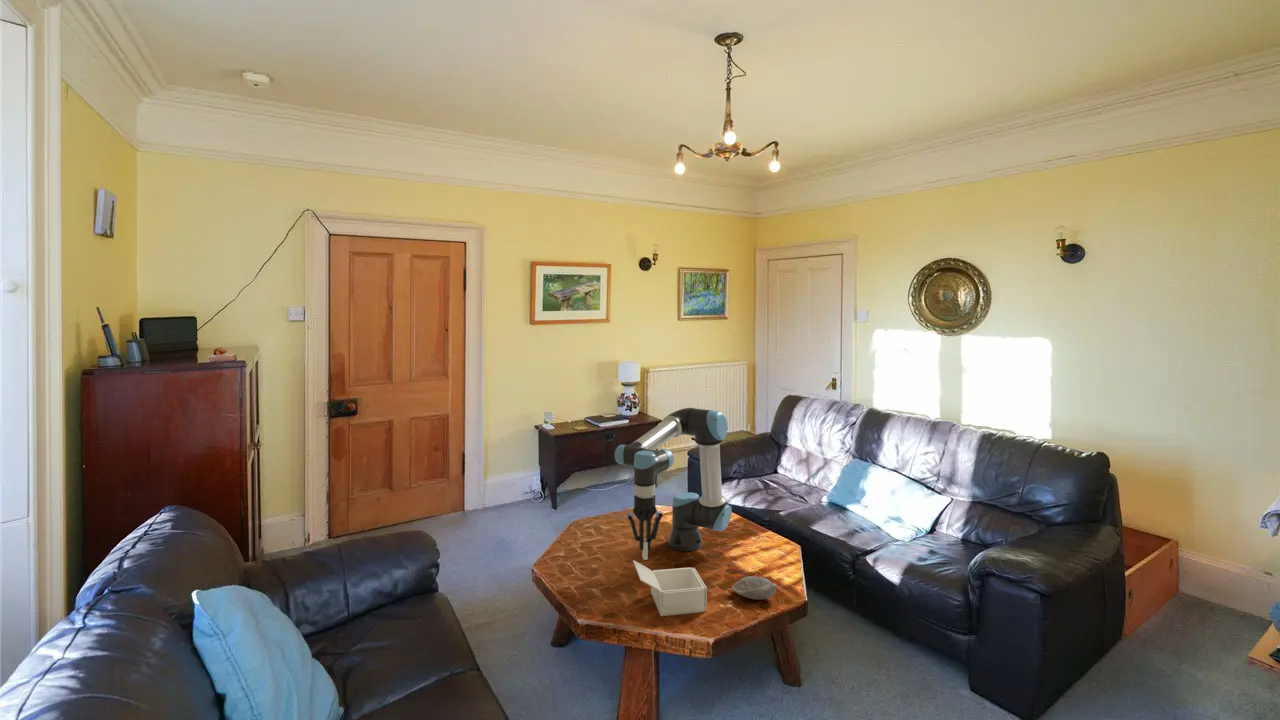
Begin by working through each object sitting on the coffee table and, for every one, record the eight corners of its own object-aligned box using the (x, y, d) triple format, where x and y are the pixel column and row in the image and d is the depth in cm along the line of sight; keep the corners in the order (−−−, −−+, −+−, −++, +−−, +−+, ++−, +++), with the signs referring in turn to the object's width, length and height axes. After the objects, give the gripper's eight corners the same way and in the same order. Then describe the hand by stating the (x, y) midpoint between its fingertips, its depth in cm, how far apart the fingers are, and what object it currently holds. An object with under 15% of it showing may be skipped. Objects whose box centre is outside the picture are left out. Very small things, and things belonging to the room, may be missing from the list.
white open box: (693, 588, 229) (694, 566, 228) (707, 612, 212) (707, 588, 211) (650, 592, 226) (651, 570, 225) (660, 617, 209) (661, 592, 208)
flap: (633, 559, 222) (632, 560, 222) (641, 579, 207) (640, 580, 207) (650, 569, 224) (650, 570, 224) (659, 589, 208) (659, 590, 208)
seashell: (726, 581, 225) (755, 570, 216) (746, 579, 233) (775, 568, 224) (733, 607, 221) (763, 596, 212) (754, 604, 228) (783, 593, 219)
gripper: (660, 490, 217) (660, 551, 220) (624, 492, 214) (625, 554, 217) (665, 497, 209) (664, 561, 212) (628, 499, 207) (628, 564, 210)
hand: (645, 557), depth 215 cm, fingers closed
